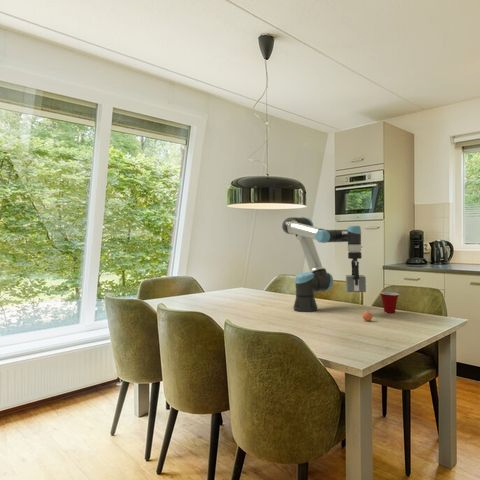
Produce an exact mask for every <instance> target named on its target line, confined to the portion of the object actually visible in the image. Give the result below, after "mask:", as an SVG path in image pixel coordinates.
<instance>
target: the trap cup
mask: <svg viewBox="0 0 480 480" xmlns="http://www.w3.org/2000/svg"><path fill="white" fill-rule="evenodd" d="M353 278H354V275H352V274H346V275H345V291H346V292H347V293H366V292H367V284H366V283H367V282H366V280H367V279H366V276H365V275H364V274H359V291H354V280H353Z"/></svg>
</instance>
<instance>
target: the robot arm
mask: <svg viewBox="0 0 480 480" xmlns="http://www.w3.org/2000/svg"><path fill="white" fill-rule="evenodd" d="M281 227H282V231H283V232H284V233H285V234H288V235H291V236H292V235H295V237H296V239H297V240H299V242H300V246H301V248H302V251H303V255H304V258H305V260H306V263H307V266H308V269H309V271H307V272H301V273H297V274H296V275H295V281H294V282H295V300H294V302H293V311H296V312H303V313H305V312H306V313H310V312H315V311H318V305H317V302H316V298H315V293H320V292H328V291H329V290H331V289H332V287H333V285H334V277H333V275H332V274H331V273H330V272H327V270H326V268H325V267H324V266H323V265H322V262H321V259H320V256H319V253H318V251H317V248H316V245H315V242H314V240H315V241H317V242H318V243H322V244H325V243H347V252H348V253H347V256H348V257H347V258H348V260H349V259H350V260H351V262H350V266H351V275H354V278H353V280H354V291H359V275H360V272H359V269H360V265H359V264H360V262H359V261H358V259H360V260H361V259H362V248H363V246H362V228H361V226H360V225H347V228H346V229H325V228H321V227H318V226H314V222H313V221H312V220H311V219H310V218H309V217H304V216H303V217H302V216H301V217H297V216H295V217H292V216H291V217H287V218H285V219H284V220H283V222H282V225H281Z"/></svg>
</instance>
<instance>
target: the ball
mask: <svg viewBox="0 0 480 480" xmlns="http://www.w3.org/2000/svg"><path fill="white" fill-rule="evenodd" d="M362 319H363V320H364V321H366V322H370V321H372V320H373V314H372V313H371V312H370V311H364V312H363V313H362Z"/></svg>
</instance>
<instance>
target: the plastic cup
mask: <svg viewBox="0 0 480 480" xmlns="http://www.w3.org/2000/svg"><path fill="white" fill-rule="evenodd" d="M379 293H380V298H381V301H382V307H383V311H384V313H385V312H386V313H385V314H395V313H396V309H397V303H398V298H399V296H400V293H397V292H391V291H380V292H379Z"/></svg>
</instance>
